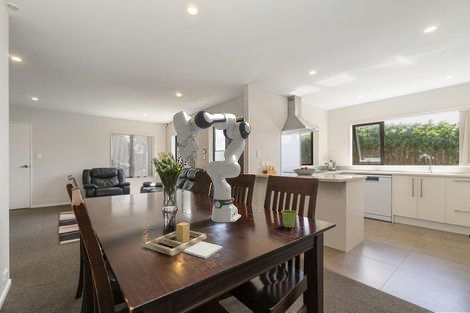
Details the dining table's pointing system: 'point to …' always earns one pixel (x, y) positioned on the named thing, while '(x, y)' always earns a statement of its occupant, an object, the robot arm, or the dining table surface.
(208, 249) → the white square plate
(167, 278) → the dining table surface
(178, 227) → the ochre block
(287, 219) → the plant pot
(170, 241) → the puzzle board
